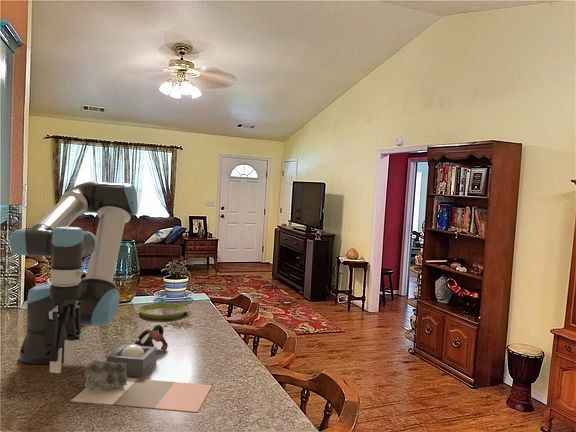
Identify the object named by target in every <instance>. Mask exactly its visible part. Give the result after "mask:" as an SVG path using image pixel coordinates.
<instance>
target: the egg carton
mask: <svg viewBox="0 0 576 432" xmlns="http://www.w3.org/2000/svg"><path fill="white" fill-rule="evenodd" d="M86 365H87V368H86V369H85V372H84V376H85V379H86V380H85V383H84V388H87V387H88V388H89V390H91V391H93V390H94V389H95V388H96V387H100V388H101V389H102V390H107V389H108V388H109V387H112V388H114V389H120V388H121V387H123V386H124V385H127V383H126V380H127V378H128V377H127V376H128V375H127V369H126V363H116V362H115V363H113V362H107V360H106V361H102V360H97V359H95V360H91V361H90V362H88V363H87V364H86Z"/></svg>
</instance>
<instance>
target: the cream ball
mask: <svg viewBox="0 0 576 432" xmlns="http://www.w3.org/2000/svg"><path fill="white" fill-rule="evenodd" d="M128 345H129V346H127V347H125V348H124V349H123V351H122V353H121V356H129V357H141V356H143V355H144V350H143V349H142V348H141V347H140V346H139V345H135V343H134V344H128Z"/></svg>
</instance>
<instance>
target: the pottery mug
mask: <svg viewBox="0 0 576 432" xmlns="http://www.w3.org/2000/svg"><path fill="white" fill-rule="evenodd" d="M145 336H147V338H146V340H145V341H144V342H143V343H142V340H143V338H145ZM137 338H138V340H136V341H135V342H134V344H135V345H139V346H148V347H155V344H154V343H153V340H154V341H155V342H158V343H159V342H161V343H162V345H161V347H160V350H161V351H162V352H163V353H165V352H166V351H167V350H168V343H167V341H166V339H165V338H164V327H163V325H161V324H157V325H154V327H153V328H152V329H150V328H149V329H146V330H144V331H142V332H141V333H140V335H138V337H137Z"/></svg>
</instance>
